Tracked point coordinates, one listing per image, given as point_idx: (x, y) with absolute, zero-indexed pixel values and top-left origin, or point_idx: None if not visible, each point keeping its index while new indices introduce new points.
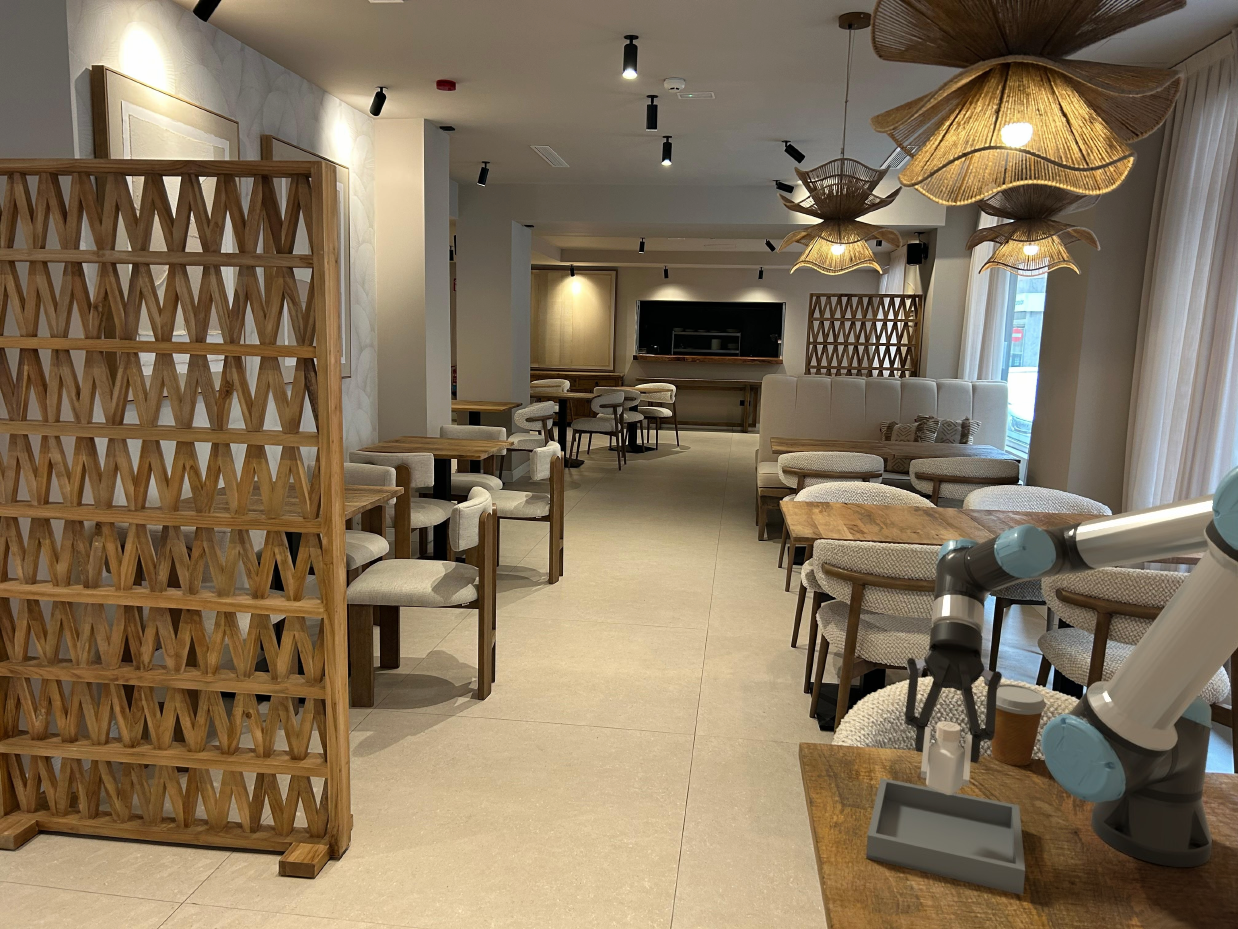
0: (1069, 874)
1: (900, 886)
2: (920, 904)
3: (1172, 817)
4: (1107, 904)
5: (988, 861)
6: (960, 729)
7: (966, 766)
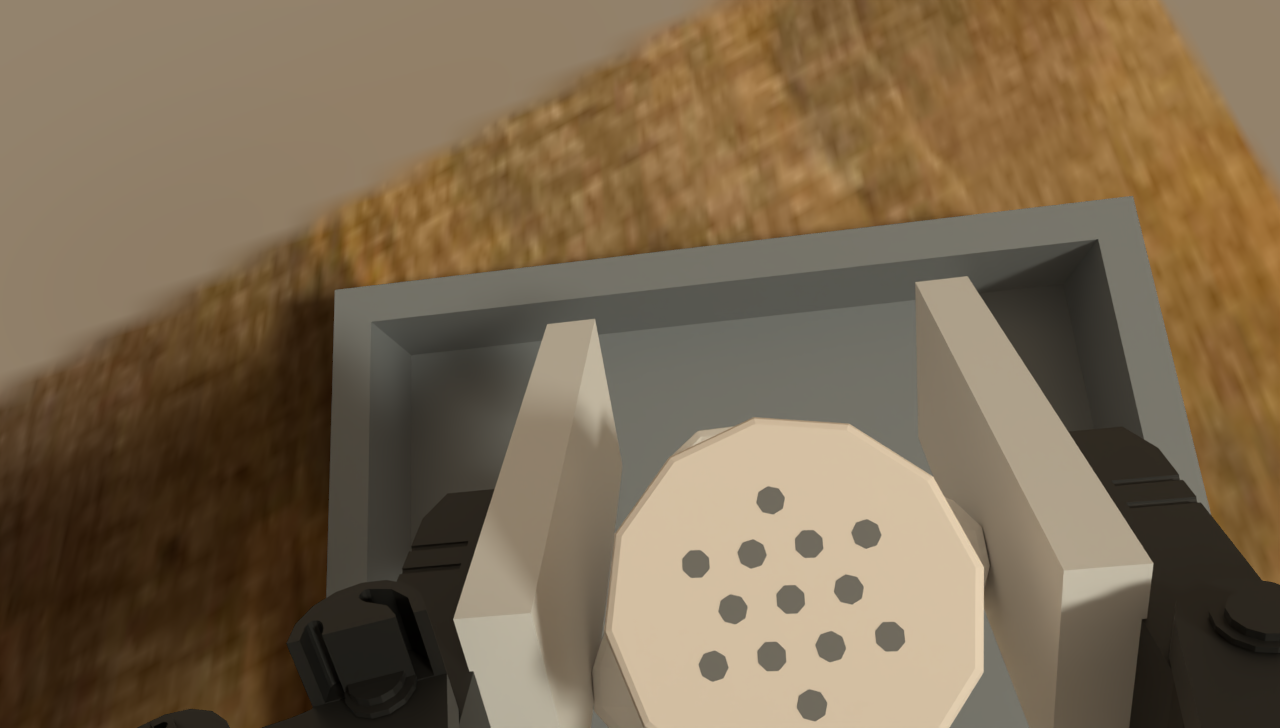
0: (171, 624)
1: (878, 128)
2: (776, 55)
3: None
4: (62, 449)
5: (499, 276)
6: (608, 603)
7: (561, 380)
